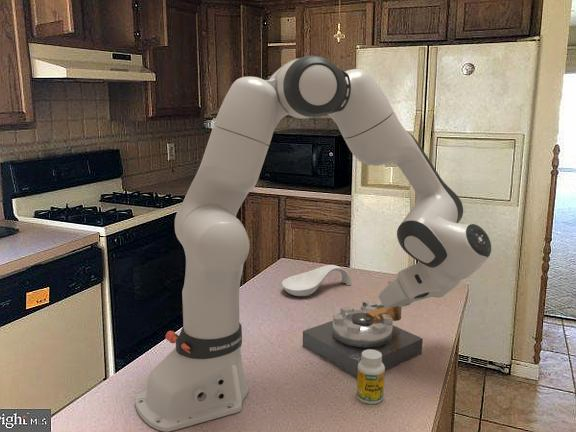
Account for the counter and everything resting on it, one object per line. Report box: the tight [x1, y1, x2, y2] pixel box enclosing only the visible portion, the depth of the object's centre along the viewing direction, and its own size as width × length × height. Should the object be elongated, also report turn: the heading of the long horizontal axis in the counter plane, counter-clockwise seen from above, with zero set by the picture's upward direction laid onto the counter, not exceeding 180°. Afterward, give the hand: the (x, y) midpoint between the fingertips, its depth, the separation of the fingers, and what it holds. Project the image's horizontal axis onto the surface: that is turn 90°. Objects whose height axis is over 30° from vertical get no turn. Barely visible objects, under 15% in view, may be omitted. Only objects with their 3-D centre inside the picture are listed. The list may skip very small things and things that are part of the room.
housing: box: [302, 320, 424, 379], centre depth 123 cm, size 20×20×4 cm
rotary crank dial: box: [332, 280, 403, 348], centre depth 122 cm, size 19×14×11 cm
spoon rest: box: [281, 264, 352, 297], centre depth 161 cm, size 24×12×7 cm, turn 120°
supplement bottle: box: [356, 349, 386, 405], centre depth 103 cm, size 5×5×10 cm
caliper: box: [359, 301, 384, 310], centre depth 144 cm, size 20×1×6 cm, turn 139°
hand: (402, 303), depth 124 cm, fingers closed, pressing on rotary crank dial
